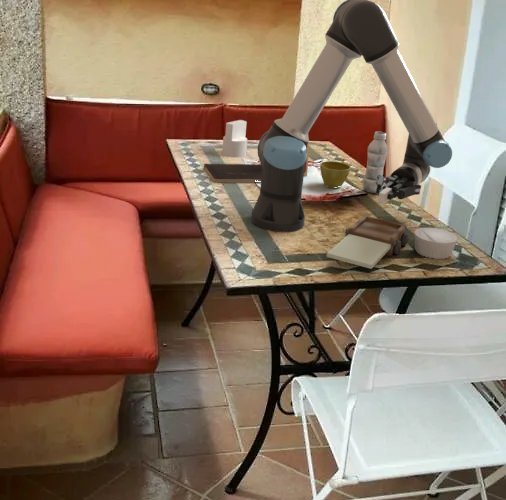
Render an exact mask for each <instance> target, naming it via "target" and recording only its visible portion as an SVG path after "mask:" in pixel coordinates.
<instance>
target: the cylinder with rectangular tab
mask: <svg viewBox="0 0 506 500" xmlns="http://www.w3.org/2000/svg"><path fill="white" fill-rule="evenodd" d="M247 123H248V122H247V121H246V120H243V119H238V120H233V121H229V122H226V123H225V135H224V136H223V137H222V150H221V154H222V155H223V156H226V157H230V158H243V157H246V156H247V149H248V138H247V137H246V133H247Z"/></svg>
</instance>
